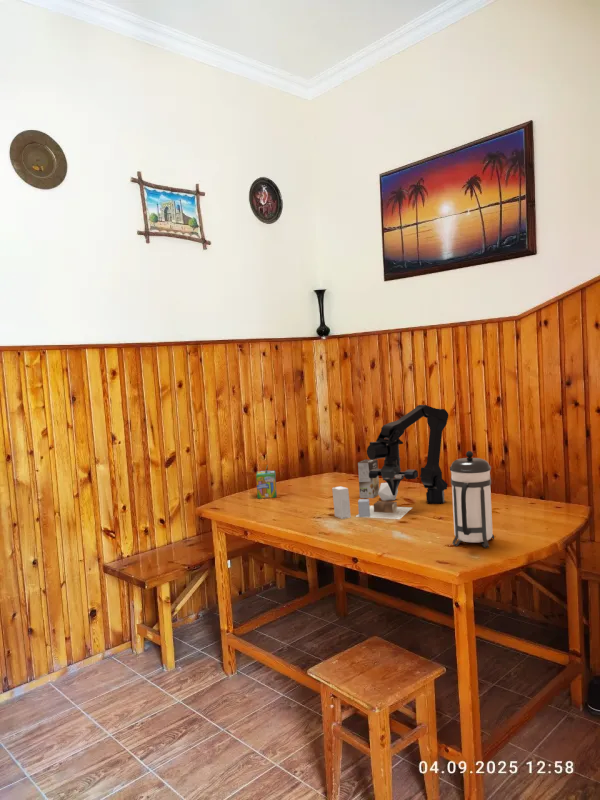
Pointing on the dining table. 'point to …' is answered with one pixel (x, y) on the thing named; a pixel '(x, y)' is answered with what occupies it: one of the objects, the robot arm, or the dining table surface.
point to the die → (386, 492)
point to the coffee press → (471, 500)
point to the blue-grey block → (364, 508)
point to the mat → (396, 515)
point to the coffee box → (368, 479)
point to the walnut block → (385, 506)
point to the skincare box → (341, 502)
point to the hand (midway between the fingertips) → (394, 495)
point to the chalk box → (266, 484)
